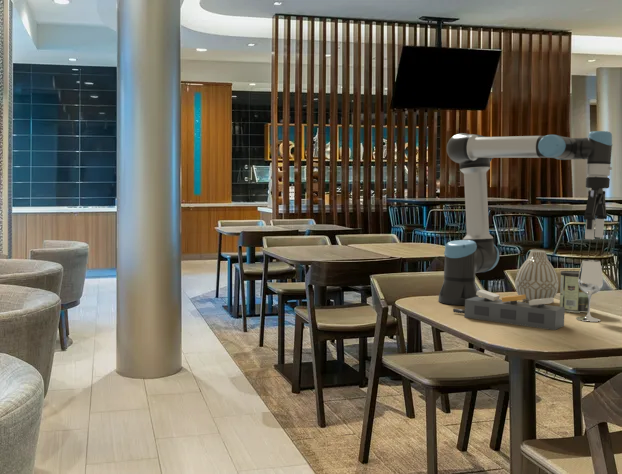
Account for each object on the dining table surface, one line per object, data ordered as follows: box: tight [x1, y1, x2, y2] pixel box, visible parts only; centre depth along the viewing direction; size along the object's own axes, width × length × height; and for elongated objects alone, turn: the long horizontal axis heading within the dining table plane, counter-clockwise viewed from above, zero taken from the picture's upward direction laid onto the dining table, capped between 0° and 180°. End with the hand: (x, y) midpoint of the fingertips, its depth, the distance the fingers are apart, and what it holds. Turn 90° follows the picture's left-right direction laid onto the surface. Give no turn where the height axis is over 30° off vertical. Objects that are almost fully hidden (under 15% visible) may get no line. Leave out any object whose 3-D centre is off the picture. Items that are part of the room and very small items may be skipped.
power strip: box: [452, 296, 566, 331], centre depth 223 cm, size 36×9×7 cm, turn 53°
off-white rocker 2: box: [529, 298, 555, 305], centre depth 215 cm, size 6×4×1 cm
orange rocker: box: [501, 294, 526, 302], centre depth 221 cm, size 6×4×1 cm
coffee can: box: [559, 270, 588, 314], centre depth 244 cm, size 10×10×14 cm
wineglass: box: [575, 259, 604, 323], centre depth 226 cm, size 8×8×20 cm
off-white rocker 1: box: [476, 289, 501, 301], centre depth 226 cm, size 6×4×1 cm
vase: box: [514, 249, 559, 303], centre depth 261 cm, size 16×16×20 cm
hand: (594, 238), depth 234 cm, fingers open, 13 cm apart
